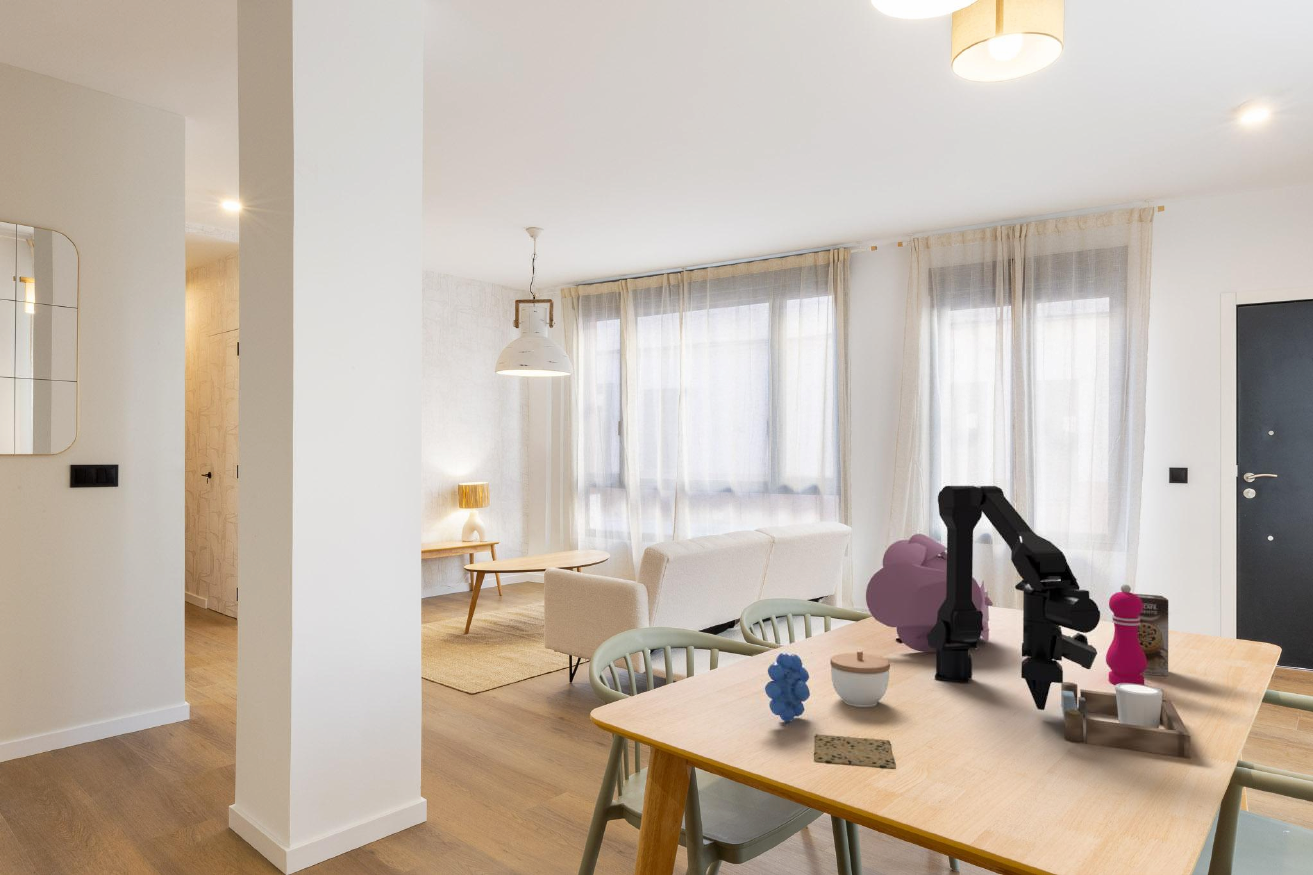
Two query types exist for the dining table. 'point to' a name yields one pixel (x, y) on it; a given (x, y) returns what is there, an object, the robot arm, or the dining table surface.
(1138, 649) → the pepper mill
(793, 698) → the grapes
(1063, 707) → the gate
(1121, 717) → the white cup
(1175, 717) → the fence
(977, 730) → the dining table surface
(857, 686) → the lidded jar
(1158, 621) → the dark tall box
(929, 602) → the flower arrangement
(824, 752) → the cookie
